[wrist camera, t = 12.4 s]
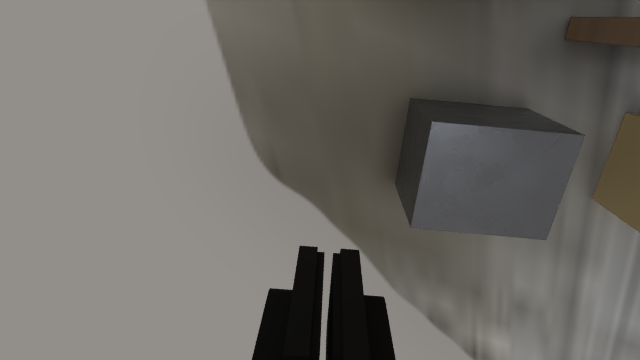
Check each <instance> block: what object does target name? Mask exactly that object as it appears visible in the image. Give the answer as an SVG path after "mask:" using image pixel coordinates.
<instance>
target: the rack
mask: <svg viewBox="0 0 640 360" xmlns="http://www.w3.org/2000/svg"><path fill="white" fill-rule="evenodd" d="M565 40H576V41H586V42H596V43H606V44H617V45H627V46H637V47H640V17H571V20H570V23H569V27H568V30H567V34H566V37H565Z"/></svg>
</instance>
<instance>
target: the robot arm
mask: <svg viewBox="0 0 640 360" xmlns="http://www.w3.org/2000/svg"><path fill="white" fill-rule="evenodd" d="M317 249H318V248H317V247H309V246H300V248H299V254H298V260H297V266H296V273H295V279H294V286H293V290H285V289H271V288H270V289H269V292H268V296H267V300H266V304H265V308H264V312H263V316H262V321H261V325H260V329H259V333H258V337H257V341H256V345H255V349H254V353H253V358H252V360H319V355H320V336H321V314H322V294H323V293H322V292H323V271H324V252H317ZM326 360H395V354H394V348H393V343H392V337H391V332H390V326H389V320H388V314H387V309H386V303H385V299H384V297H380V296H367V295H364V294H363V284H362V274H361V264H360V254H359V250H351V249H341V251H340V254H339V253H338V254H337V253H333V263H332V274H331V285H330V296H329V309H328V319H327V336H326Z"/></svg>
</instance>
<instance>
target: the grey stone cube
mask: <svg viewBox="0 0 640 360" xmlns="http://www.w3.org/2000/svg"><path fill="white" fill-rule="evenodd" d="M584 136H585V135H583V134H581V133H579V132H577V131H574V130H572V129H570V128H568V127H566V126H564V125H562V124H560V123H558V122H555V121H553V120H551V119H549V118H547V117H545V116H543V115H541V114H539V113H536V112H534V111H532V110H530V109H525V108H514V107H503V106H492V105H481V104H470V103H459V102H447V101H436V100H425V99H414V98H410V103H409V109H408V114H407V120H406V126H405V131H404V137H403V143H402V149H401V154H400V160H399V166H398V171H397V177H396V183H395V185H396V188H397V191H398V194H399V197H400V199H401V202H402V205H403V208H404V211H405V213H406V216H407V219H408V222H409V225H410V227H411V228H420V229H431V230H442V231H453V232H464V233H475V234H486V235H497V236H508V237H519V238H530V239H541V240H546V239H547V236H548V233H549V231H550V228H551V225H552V222H553V220H554V217H555V214H556V212H557V209H558V206H559V204H560V201H561V198H562V195H563V193H564V190H565V187H566V185H567V182H568V179H569V177H570V174H571V171H572V169H573V166H574V163H575V160H576V158H577V155H578V152H579V150H580V147H581V144H582V142H583V139H584Z"/></svg>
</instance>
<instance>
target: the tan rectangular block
mask: <svg viewBox="0 0 640 360" xmlns="http://www.w3.org/2000/svg"><path fill="white" fill-rule="evenodd" d="M592 199H593V200H595V201H596V202H597V203H599V204H600V205H602V206H603V207H605V208H606V209H607V210H609V211H610V212H612V213H613V214H614V215H616V216H617V217H619V218H620V219H621V220H623V221H624V222H626V223H627V224H628V225H630V226H631V227H633V228H634V229H636V230H637V231H638V232H640V114H630V113H625V116H624V119H623V121H622V124H621V126H620V129H619V131H618V134H617V136H616V139H615V142H614V144H613V147H612V149H611V152H610V154H609V157H608V159H607V162H606V165H605V167H604V170H603V172H602V175H601V177H600V180H599V182H598V185H597V188H596V190H595V193H594V195H593V198H592Z"/></svg>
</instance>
